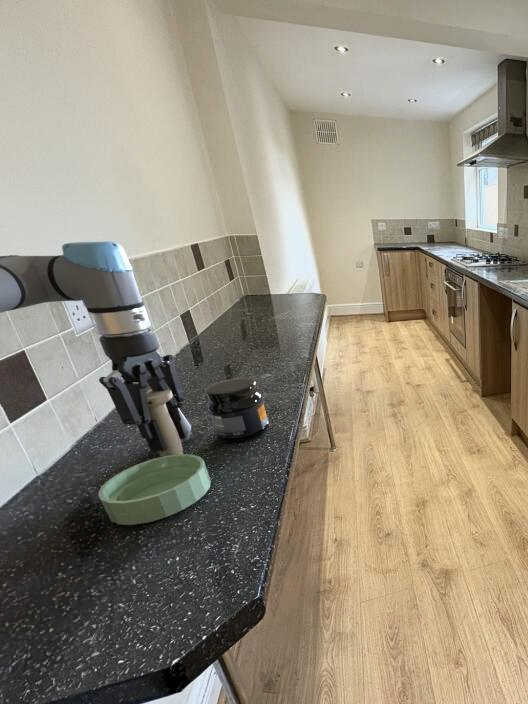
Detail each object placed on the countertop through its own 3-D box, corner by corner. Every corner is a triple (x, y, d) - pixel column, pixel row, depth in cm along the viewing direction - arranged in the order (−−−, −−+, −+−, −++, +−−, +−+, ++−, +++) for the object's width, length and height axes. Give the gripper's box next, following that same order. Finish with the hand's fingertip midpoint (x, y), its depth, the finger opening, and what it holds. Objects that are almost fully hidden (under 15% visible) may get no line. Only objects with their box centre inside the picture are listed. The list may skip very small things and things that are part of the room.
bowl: (86, 526, 67) (73, 501, 65) (159, 475, 80) (150, 453, 78) (168, 529, 66) (158, 504, 64) (229, 477, 79) (222, 455, 77)
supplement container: (274, 419, 101) (262, 374, 97) (265, 440, 92) (251, 391, 87) (225, 426, 98) (210, 379, 94) (210, 448, 89) (194, 398, 84)
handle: (156, 460, 85) (130, 394, 79) (194, 450, 88) (171, 387, 82) (154, 471, 81) (126, 403, 75) (193, 461, 84) (170, 395, 78)
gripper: (99, 346, 66) (150, 468, 75) (183, 320, 81) (216, 424, 91) (55, 345, 66) (111, 467, 75) (147, 320, 82) (184, 423, 91)
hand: (168, 443), depth 83 cm, fingers closed on handle, 4 cm apart
